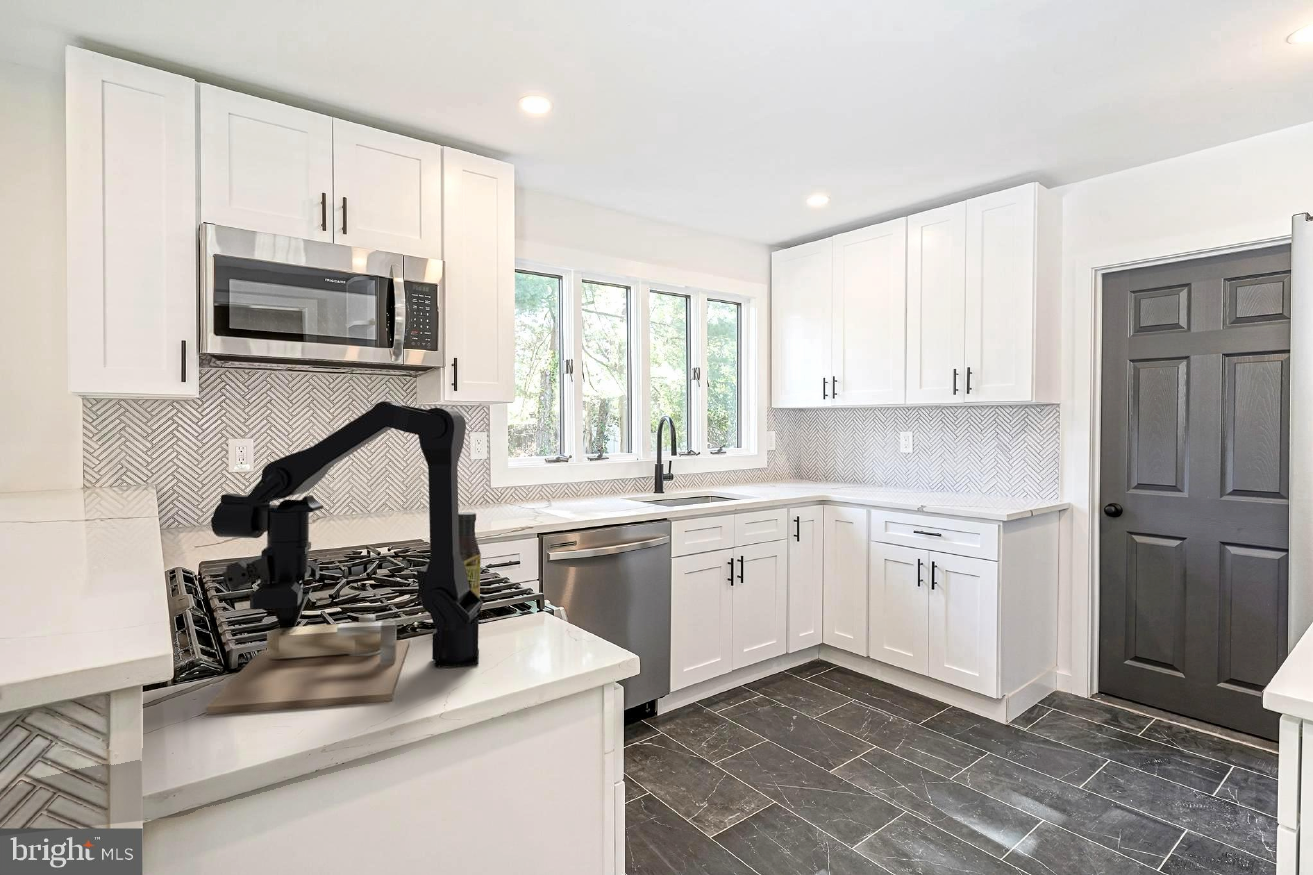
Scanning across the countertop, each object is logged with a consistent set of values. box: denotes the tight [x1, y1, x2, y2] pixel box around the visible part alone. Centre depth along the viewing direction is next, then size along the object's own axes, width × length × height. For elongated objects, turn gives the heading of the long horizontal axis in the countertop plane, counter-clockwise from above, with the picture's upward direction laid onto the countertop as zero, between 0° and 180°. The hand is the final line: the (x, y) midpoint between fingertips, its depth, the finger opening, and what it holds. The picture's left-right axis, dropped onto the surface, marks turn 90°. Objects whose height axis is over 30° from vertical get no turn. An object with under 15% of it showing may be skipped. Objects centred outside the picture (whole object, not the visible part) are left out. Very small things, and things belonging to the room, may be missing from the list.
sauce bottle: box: [458, 511, 482, 599], centre depth 129 cm, size 6×6×20 cm
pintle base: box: [205, 613, 411, 716], centre depth 98 cm, size 22×22×7 cm
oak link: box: [266, 620, 381, 659], centre depth 104 cm, size 16×5×4 cm, turn 108°
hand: (287, 637), depth 106 cm, fingers closed
